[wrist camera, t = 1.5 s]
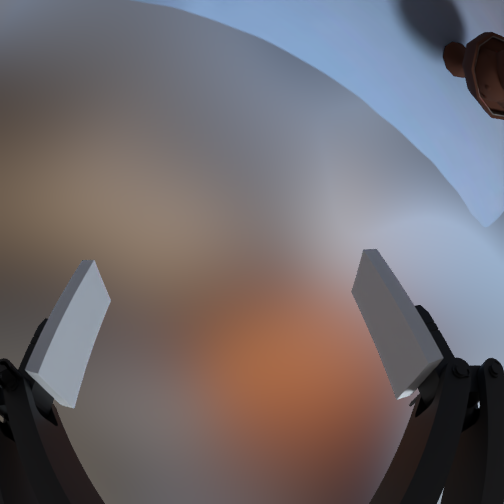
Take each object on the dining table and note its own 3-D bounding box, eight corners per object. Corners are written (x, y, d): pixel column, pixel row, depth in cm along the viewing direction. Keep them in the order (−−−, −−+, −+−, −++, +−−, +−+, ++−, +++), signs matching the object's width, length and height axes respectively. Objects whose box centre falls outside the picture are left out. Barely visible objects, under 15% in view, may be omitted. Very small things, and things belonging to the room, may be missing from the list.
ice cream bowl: (420, 78, 24) (496, 121, 13) (434, 10, 16) (517, 22, 5) (473, 106, 24) (541, 156, 14) (488, 45, 16) (563, 79, 6)
